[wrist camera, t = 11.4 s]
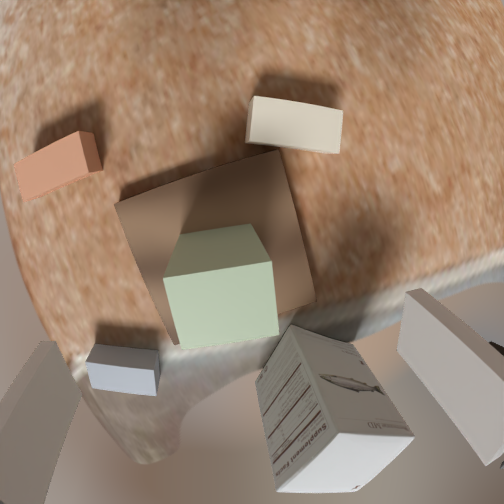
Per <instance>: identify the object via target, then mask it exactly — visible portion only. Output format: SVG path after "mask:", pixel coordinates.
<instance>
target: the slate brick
mask: <svg viewBox="0 0 504 504" xmlns="http://www.w3.org/2000/svg"><path fill="white" fill-rule="evenodd" d="M86 366H87V370H88V374H89V378H90V382H91V386H92V388H96V389H102V390H109V391H116V392H123V393H132V394H140V395H150V396H157V391H158V385H159V380H160V368H159V355H158V350H148V349H137V348H128V347H118V346H110V345H102V344H94V346H93V348H92V350H91V352H90V354H89V356H88V358H87V360H86Z"/></svg>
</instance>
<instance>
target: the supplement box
mask: <svg viewBox="0 0 504 504" xmlns="http://www.w3.org/2000/svg"><path fill="white" fill-rule="evenodd" d="M255 384H256V390H257V395H258V401H259V407H260V412H261V417H262V422H263V427H264V432H265V437H266V441H267V446H268V451H269V456H270V461H271V466H272V470H273V476H274V481H275V488H276V491H277V492H288V493H333V492H356V491H357V490H359V489H360V488H362V487H363V486H364V485H365V484H367V483H368V482H369V481H370V480H371V479H373V478H374V477H375V476H376V475H377V474H378V473H379V472H380V471H381V470H383V469H384V468H385V467H386V466H387V465H388V464H389V463H390V462H391V461H392V460H393V459H394V458H395V457H397V456H398V454H400V453H401V452H402V451H403V450H404V448H406V447H407V446H408V444H409V443H410V442H411V441H412V440H413V439H414V437H415V435H414V434H413V433H412V431H411V430H410V428H409V427H408V425H407V424H406V422H405V421H404V419H403V417H402V416H401V415H400V413H399V412H398V410H397V409H396V407H395V405H394V404H393V402H392V401H391V400H390V398H389V396H388V395H387V394H386V392H385V391H384V389H383V387H382V386H381V384H380V383H379V382H378V380H377V379H376V377H375V376H374V374H373V373H372V372H371V370H370V368H369V367H368V365H367V364H366V363H365V361H364V359H363V358H362V357H361V355H360V354H359V352H358V351H357V349H356V348H355V347H354V345H353V344H349V343H345V342H341V341H338V340H335V339H331V338H328V337H325V336H322V335H319V334H316V333H314V332H311V331H308V330H305V329H302V328H300V327H297V326H295V325H292V324H291V325H290V326H289V327H288V329H287V331H286V332H285V334H284V335H283V337H282V339H281V341H280V342H279V344H278V345H277V347H276V349H275V350H274V352H273V354H272V355H271V357H270V358H269V360H268V362H267V363H266V365H265V366H264V368H263V370H262V371H261V373H260V375H259V376H258V378H257V380H256V381H255Z"/></svg>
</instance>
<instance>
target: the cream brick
mask: <svg viewBox="0 0 504 504" xmlns="http://www.w3.org/2000/svg"><path fill="white" fill-rule="evenodd" d="M342 120H343V111H342V110H337V109H333V108H328V107H323V106H318V105H312V104H307V103H301V102H295V101H289V100H282V99H275V98H268V97H260V96H254V97H253V98H252V99H251V101H250V102H249V107H248V117H247V127H246V137H245V143H248V144H258V145H267V146H276V147H284V148H292V149H299V150H306V151H313V152H319V153H335V154H339V150H340V141H341V130H342Z"/></svg>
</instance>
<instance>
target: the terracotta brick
mask: <svg viewBox="0 0 504 504" xmlns="http://www.w3.org/2000/svg"><path fill="white" fill-rule="evenodd" d="M14 168H15V172H16V176H17V180H18V184H19V188H20V192H21V195H22V199H23V202H26V201H30V200H33V199H36V198H39V197H42V196H44V195H46V194H48V193H51V192H53V191H55V190H57V189H60V188H62V187H64V186H66V185H69V184H71V183H73V182H76V181H78V180H80V179H83V178H85V177H88V176H90V175H93V174H95V173H98V172H100V171H103V169H102V165H101V161H100V157H99V154H98V150H97V146H96V142H95V138H94V133H90V132H83V131H77V132H75V133H72V134H70V135H68V136H66V137H64V138H62V139H60V140H58V141H56V142H54V143H52V144H50V145H48V146H46V147H44V148H42V149H40V150H38V151H36V152H34V153H33V154H31V155H29V156H27V157H25V158H24V159H22V160H20V161H18V162H16V163H15V164H14Z"/></svg>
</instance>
